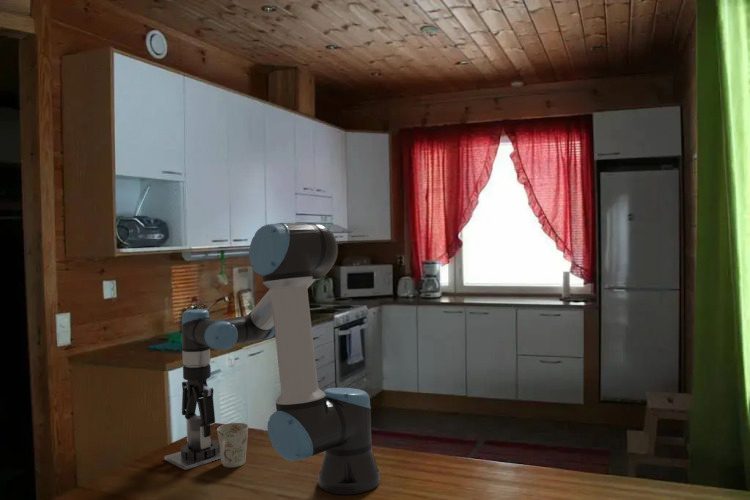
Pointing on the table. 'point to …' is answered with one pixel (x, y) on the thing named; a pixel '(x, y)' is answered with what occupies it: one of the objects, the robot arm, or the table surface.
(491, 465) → the table surface
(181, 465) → the mount
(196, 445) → the lens
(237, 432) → the mug
